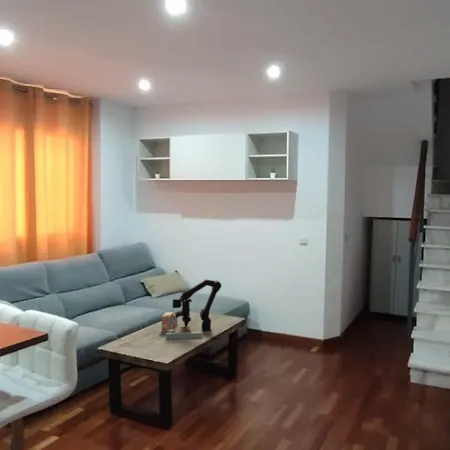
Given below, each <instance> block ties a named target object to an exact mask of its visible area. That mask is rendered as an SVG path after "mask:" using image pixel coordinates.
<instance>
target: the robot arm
mask: <svg viewBox="0 0 450 450" xmlns="http://www.w3.org/2000/svg"><path fill="white" fill-rule="evenodd" d="M206 286H207V287H208V286H209V287H211V292H210V293H209V296H208V299H207V301H206V303H205V306H204V308H201V309H200V311H199V317H200V320H201V330H202V332H203V331H205V332H206V331H212V327H211V324H212V323H211V322H212V319H211V318H210V317H209V316H210V310H211V307H212V305H213V303H214V300H215V298H216V296H217V293H218V292H220V289H221V288H222V283H221V282H220V281H219V280H218V279H216V280H212V279H211V280H210V279H204V280H203V281H202V282H199V283H198V284H197V285H195V286H193V287H191V288H188V289H185V290H183V291H182V293H181V295H180V297H179V298H173V299H172V305H171V307H172V309H179V308H181V309H180V310H179V311H175V312H174V313H175V316H176V318H177V319H178V318H179V317H180V318H181V319H182V322H183V323H184V327H188V325H189V322H191V321H192V317H191V314H190V311H191V309H190V308H191V307H190V304H191V303H192V302H193V300H192V299H191V297H192V296H193V295H194V294H195V293H197V292H198V291H201V290H202V289H203V288H205V287H206Z"/></svg>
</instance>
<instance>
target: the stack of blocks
mask: <svg viewBox="0 0 450 450" xmlns="http://www.w3.org/2000/svg"><path fill="white" fill-rule="evenodd" d="M176 326H178V318H176V316H175V312H174V311H173V312H171V311H166V312H164V314H162V315H161V332H163V333H164V332H166V333H168V330H171V329H174V328H175V327H176Z"/></svg>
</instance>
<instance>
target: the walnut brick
mask: <svg viewBox="0 0 450 450" xmlns="http://www.w3.org/2000/svg"><path fill="white" fill-rule="evenodd" d="M180 332H192V330H191V326H187V327H185V326H180Z"/></svg>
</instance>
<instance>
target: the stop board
mask: <svg viewBox="0 0 450 450" xmlns="http://www.w3.org/2000/svg"><path fill="white" fill-rule="evenodd" d="M165 336H166V339H167V340H170V339H171V340H172V339H174V340H175V339H197V338H198V339H201V338H203V331H191V332H181V331H180V332H175V333H168V332H166V335H165Z"/></svg>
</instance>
